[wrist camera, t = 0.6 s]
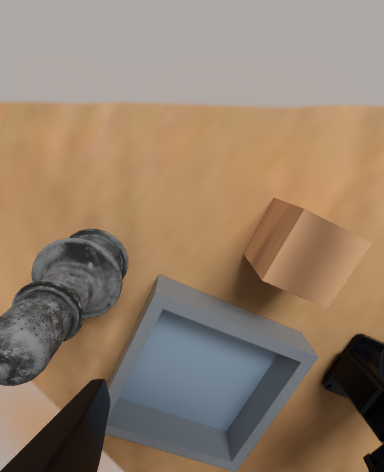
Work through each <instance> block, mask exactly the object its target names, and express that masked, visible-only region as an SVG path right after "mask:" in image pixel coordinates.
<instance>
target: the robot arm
mask: <svg viewBox="0 0 384 472" xmlns="http://www.w3.org/2000/svg"><path fill="white" fill-rule="evenodd" d="M322 385H323V387H324V388H325V389H326V390H328V391H331V392H333V393H336V394H339V395H341V396H344V397H347V398H349V399H350V401H351V402H352V404H353V405H354V406H355V408H356V409H357V411H358V412H359V413H360V414H361V416H362V417H363V418H364V420H365V421H366V422H367V424H368V425H369V427H370V428H371V429H372V431H373V432H374V434H375V435H376V436H377V438H378V439H379V440H380V441H381V443H382V444H383V445H381V446H380V447H379V448H377V449H376V450H375V451H374V452H372V453H371V454H369V453H368V454H367V455H366V456H364V457H363V459H364V461H365V463H366V465H367V467H368V469H369V472H384V343H383V342H380V341H378V340H376V339H373V338H371V337H369V336H366V335H364V334H359V335H357V336H356V337H355V338H354V340H353V341H352V342H351V344H350V345H349V347H348V348H347V349H346V351H345V352H344V353H343V355H342V356H341V357H340V359H339V360H338V361H337V363H336V364H335V365H334V367H333V368H332V369H331V371H330V372H329V373H328V375H327V376H326V377H325V379H324V380H323V382H322ZM109 410H110V395H109V391H108V387H107V383H106V381H105V379H94V380H91V381H90V382H89V383H88V384H87V385H86V386H85V387H84V388H83V389H82V390H81V391H80V392H79V393H78V394H77V395H76V396H75V397H74V398H73V399H72V400H71V401H70V402H69V403H68V404H67V405H66V406H65V407H64V408H63V409H62V410H61V411H60V412H59V413H58V414H57V415H56V416H55V417H54V418H53V419H52V420H51V421H50V422H49V423H48V424H47V425H46V426H45V427H44V428H43V429H42V430H41V431H40V432H39V433H38V434H37V435H36V436H35V437H34V438H33V439H32V440H31V441H30V442H29V443H28V444H27V445H26V446H25V447H24V448H23V449H22V450H21V451H20V452H19V453H18V454H17V455H16V456H15V457H14V458H13V459H12V460H11V461H10V462H9V463H8V464H7V465H6V466H5V467H4V468H3V469H2V470H1V471H0V472H97V470H98V466H99V462H100V457H101V452H102V447H103V442H104V436H105V431H106V426H107V420H108V415H109Z"/></svg>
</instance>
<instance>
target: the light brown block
mask: <svg viewBox="0 0 384 472" xmlns="http://www.w3.org/2000/svg"><path fill="white" fill-rule="evenodd" d="M371 244H372V243H371V242H369V241H367V240H365V239H363V238H361V237H359V236H357V235H355V234H353V233H351V232H349V231H347V230H345V229H343V228H341V227H339V226H337V225H335V224H333V223H331V222H329V221H327V220H325V219H323V218H321V217H319V216H317V215H315V214H313V213H311V212H309V211H307V210H305V209H303V208H300V207H298V206H295V205H292V204H290V203H287V202H284V201H281V200H279V199H276V198H274V199H273V201H272V203H271V204H270V206H269V208H268V210H267V212H266V213H265V215H264V217H263V219H262V221H261V222H260V224H259V226H258V228H257V230H256V231H255V233H254V235H253V237H252V239H251V240H250V242H249V244H248V246H247V248H246V249H245V251H244V253H243V254H244V255H245V257H246V258H247V260H248V261H249V262H250V264H251V265H252V267H253V268H254V270H255V271H256V273H257V274H258V275H259V277H260V278H261V280H262V281H264V282H267V283H269V284H271V285H273V286H276V287H278V288H280V289H283V290H285V291H287V292H290V293H292V294H294V295H297V296H299V297H301V298H303V299H306V300H308V301H310V302H313V303H315V304H317V305H320V306H322V307H324V308H328V307H329V305H330V304H331V302H332V301H333V300H334V298H335V297H336V295H337V294H338V292H339V291H340V289H341V288H342V287H343V285H344V284H345V282H346V281H347V279H348V278H349V276H350V275H351V273H352V272H353V271H354V269H355V268H356V266H357V265H358V263H359V262H360V260H361V259H362V258H363V256H364V255H365V253H366V252H367V250H368V249H369V247H370V246H371Z"/></svg>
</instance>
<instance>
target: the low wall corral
mask: <svg viewBox="0 0 384 472" xmlns="http://www.w3.org/2000/svg"><path fill="white" fill-rule="evenodd" d="M317 359H318V355H317V354H316V352H315V351H314V350H313V348H312V347H311V345H310V344H309V343H308V341H307V340H306V338H305V337H304V336H303V334H302V333H301V332H299V331H296V330H294V329H292V328H289V327H287V326H284V325H282V324H279V323H277V322H274V321H272V320H270V319H267V318H265V317H262V316H260V315H257V314H255V313H252V312H250V311H248V310H245V309H243V308H240V307H238V306H235V305H233V304H230V303H228V302H225V301H223V300H221V299H218V298H216V297H213V296H211V295H208V294H206V293H203V292H201V291H199V290H196V289H194V288H191V287H189V286H186V285H184V284H181V283H179V282H177V281H174V280H172V279H169V278H167V277H164V276H162V275H159V276H158V278H157V280H156V282H155V284H154V286H153V289H152V291H151V293H150V295H149V297H148V299H147V301H146V303H145V305H144V308H143V310H142V312H141V314H140V316H139V318H138V320H137V322H136V324H135V327H134V329H133V331H132V333H131V335H130V337H129V339H128V341H127V343H126V345H125V348H124V350H123V352H122V354H121V356H120V358H119V360H118V362H117V364H116V367H115V369H114V371H113V373H112V375H111V377H110V379H109V381H108V383H107V387H108V391H109V395H110V410H109V415H108V420H107V426H106V431H105V434H107V435H111V436H114V437H118V438H121V439H125V440H128V441H131V442H135V443H138V444H142V445H145V446H149V447H152V448H155V449H159V450H162V451H166V452H169V453H173V454H176V455H179V456H183V457H186V458H190V459H193V460H197V461H200V462H203V463H207V464H210V465H214V466H217V467H221V468H224V469H227V470H231V471H234V472H236V471H237V470H238V469H239V467H240V466H241V464H242V463H243V462H244V460H245V459H246V458H247V456H248V455H249V453H250V452H251V451H252V449H253V448H254V446H255V445H256V444H257V442H258V441H259V439H260V438H261V437H262V435H263V434H264V432H265V431H266V430H267V428H268V427H269V425H270V424H271V423H272V421H273V420H274V419H275V417H276V416H277V414H278V413H279V412H280V410H281V409H282V407H283V406H284V405H285V403H286V402H287V400H288V399H289V398H290V396H291V395H292V393H293V392H294V391H295V389H296V388H297V387H298V385H299V384H300V382H301V381H302V380H303V378H304V377H305V375H306V374H307V373H308V371H309V370H310V368H311V367H312V366H313V364H314V363H315V361H316V360H317Z"/></svg>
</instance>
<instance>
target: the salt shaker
mask: <svg viewBox="0 0 384 472" xmlns="http://www.w3.org/2000/svg"><path fill="white" fill-rule="evenodd" d="M127 268H128V256H127V253H126V250H125V248H124V246H123V245H122V243H121V242H120V241H119V240H118V239H117V238H116V237H115V236H113V235H111V234H110V233H108V232H106V231H102V230H98V229H86V230H82V231H79V232H77V233H75V234H73V235H72V236H70V237H69V238H66V239H61V240H57V241H55V242H53V243H51V244H49V245H47V246H46V247H45V248H44V249H43V250H42V251H41V252H40V253H39V254H38V255H37V257H36V259H35V261H34V263H33V268H32V281H33V283H30V284H28V285H26V286H24V287H23V288H22V289H21V290H20V291H19V292H18V293H17V294H16V295H15V297H14V299H13V302H12V307H11V308H10V309H9V310H8V311H6V312H5V313H4V314H3V315H2V316H0V385H5V386H15V385H20V384H23V383H26V382H29V381H31V380H33V379H34V378H35V377H36V376H38V375H39V374H40V373H41V372H42V371H43V370H44V369H45V367H46V366H47V364H48V363H49V361H50V360H51V358H52V357H53V355H54V354H55V352H56V351H57V349H58V348H59V346H60V345H61V343H62V342H63V341H66V340H68V339H70V338H72V337H73V336H74V335H75V334H76V333H78V331H79V329H80V328H81V326H82V323H83V319H87V318H92V317H96V316H99V315H101V314H103V313H105V312H107V311H108V310H109V309H110V308H111V307H112V306H113V305H114V304H115V303H116V301H117V299H118V298H119V296H120V293H121V289H122V279H123V278H124V276H125V274H126V272H127Z"/></svg>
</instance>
